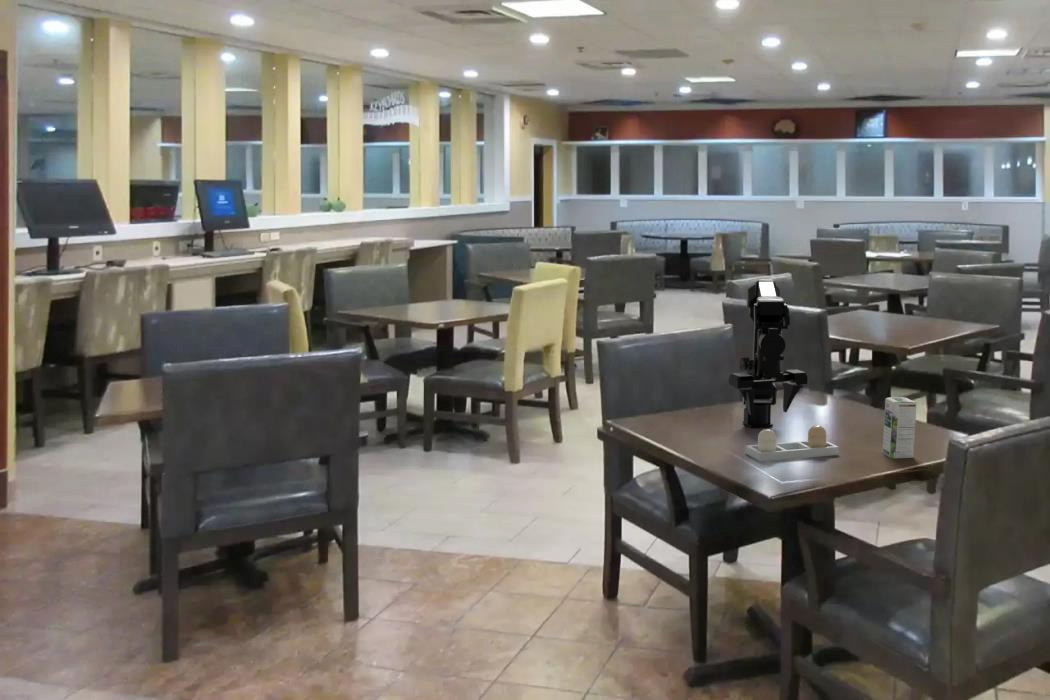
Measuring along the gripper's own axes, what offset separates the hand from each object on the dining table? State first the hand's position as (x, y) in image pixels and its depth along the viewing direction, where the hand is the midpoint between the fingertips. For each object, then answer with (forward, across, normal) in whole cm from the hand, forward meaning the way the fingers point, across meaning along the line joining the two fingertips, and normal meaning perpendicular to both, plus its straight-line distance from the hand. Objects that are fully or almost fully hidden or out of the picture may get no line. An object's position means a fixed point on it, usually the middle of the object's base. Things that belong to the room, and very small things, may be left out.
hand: (767, 413), depth 255 cm
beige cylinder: (+11, -14, 0) cm, 17 cm away
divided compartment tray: (+11, -7, 0) cm, 13 cm away
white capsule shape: (+11, 0, 0) cm, 11 cm away
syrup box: (+12, -31, +8) cm, 34 cm away
